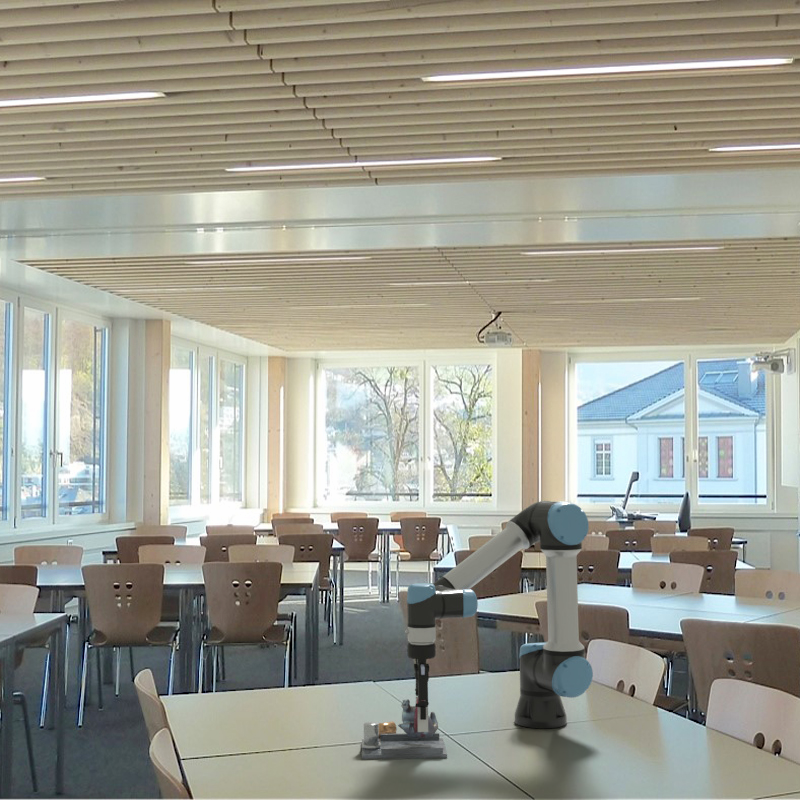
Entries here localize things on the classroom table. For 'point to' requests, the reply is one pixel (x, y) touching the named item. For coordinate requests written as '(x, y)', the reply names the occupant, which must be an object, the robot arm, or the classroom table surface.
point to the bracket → (399, 745)
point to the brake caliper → (416, 721)
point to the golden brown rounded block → (387, 728)
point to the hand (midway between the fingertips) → (421, 726)
